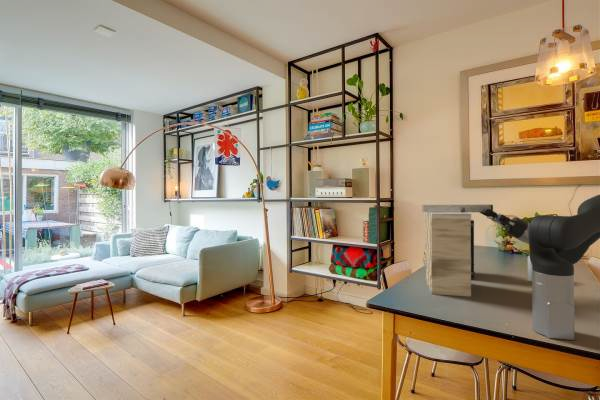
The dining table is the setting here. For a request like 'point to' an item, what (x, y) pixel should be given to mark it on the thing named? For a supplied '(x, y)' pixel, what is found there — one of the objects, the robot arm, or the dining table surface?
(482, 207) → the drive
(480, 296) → the dining table surface
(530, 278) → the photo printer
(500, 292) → the dining table surface
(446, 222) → the stand
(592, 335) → the dining table surface
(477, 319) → the dining table surface
